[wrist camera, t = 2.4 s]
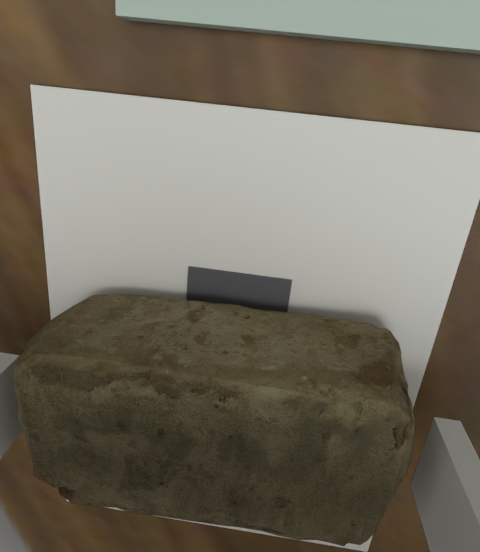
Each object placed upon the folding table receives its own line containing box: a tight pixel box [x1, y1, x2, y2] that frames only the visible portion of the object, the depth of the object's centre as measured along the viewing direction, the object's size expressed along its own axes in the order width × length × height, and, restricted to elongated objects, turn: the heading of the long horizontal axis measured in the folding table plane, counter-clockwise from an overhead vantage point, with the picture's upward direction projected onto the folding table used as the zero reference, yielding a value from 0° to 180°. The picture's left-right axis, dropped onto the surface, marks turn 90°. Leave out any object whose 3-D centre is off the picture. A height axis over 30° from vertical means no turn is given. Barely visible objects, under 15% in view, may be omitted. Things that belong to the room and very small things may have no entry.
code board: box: [30, 85, 480, 552], centre depth 17 cm, size 18×14×1 cm
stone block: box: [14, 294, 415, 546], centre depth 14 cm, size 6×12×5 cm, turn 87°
